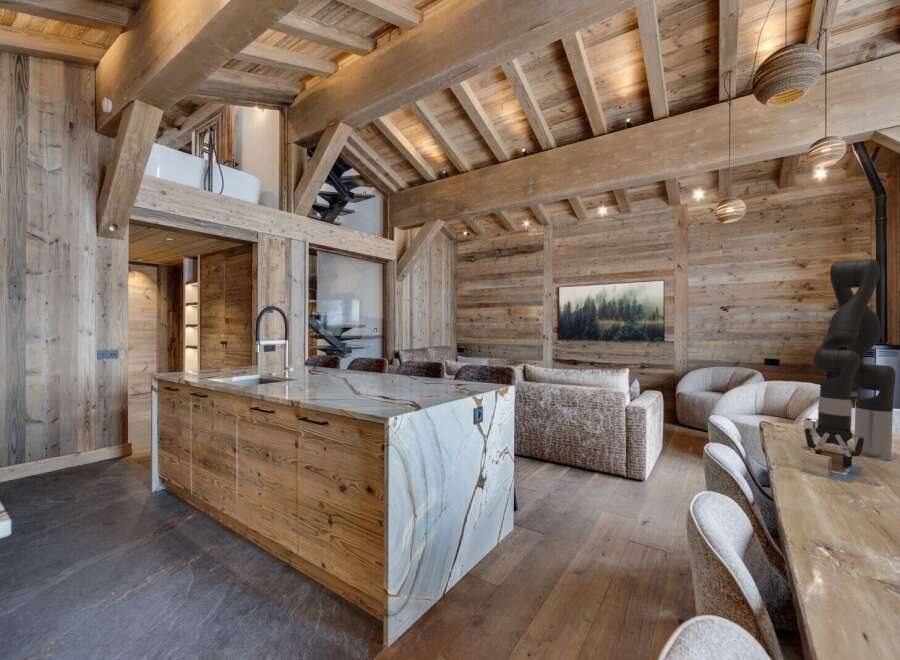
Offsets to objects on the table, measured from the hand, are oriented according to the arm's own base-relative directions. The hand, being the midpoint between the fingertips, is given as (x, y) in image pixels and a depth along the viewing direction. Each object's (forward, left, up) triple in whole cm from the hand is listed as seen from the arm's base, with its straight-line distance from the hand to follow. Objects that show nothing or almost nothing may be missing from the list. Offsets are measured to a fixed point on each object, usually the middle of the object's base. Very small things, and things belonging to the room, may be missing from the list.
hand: (832, 464), depth 125 cm
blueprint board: (0, 0, -3) cm, 3 cm away
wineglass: (-23, -9, -3) cm, 25 cm away
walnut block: (0, 0, -1) cm, 1 cm away
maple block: (+8, -2, -2) cm, 8 cm away
